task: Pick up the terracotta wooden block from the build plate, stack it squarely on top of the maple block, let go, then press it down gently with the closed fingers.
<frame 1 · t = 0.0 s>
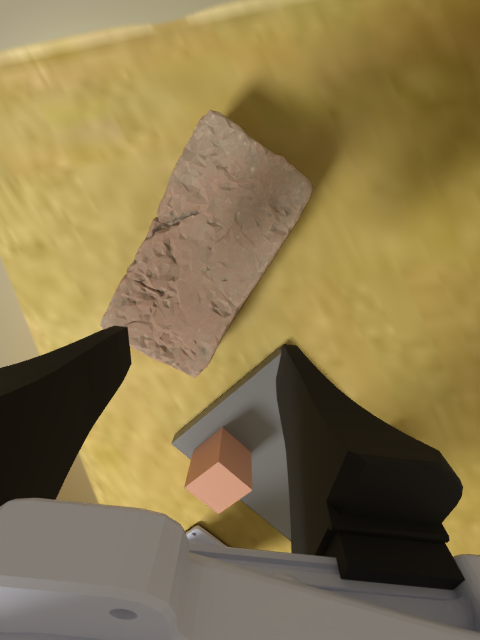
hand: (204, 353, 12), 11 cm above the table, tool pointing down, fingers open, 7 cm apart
terracotta block: (222, 451, 25), point 1 cm above the table, touching build plate
brick: (208, 256, 22), on the table
build plate: (291, 455, 27), on the table
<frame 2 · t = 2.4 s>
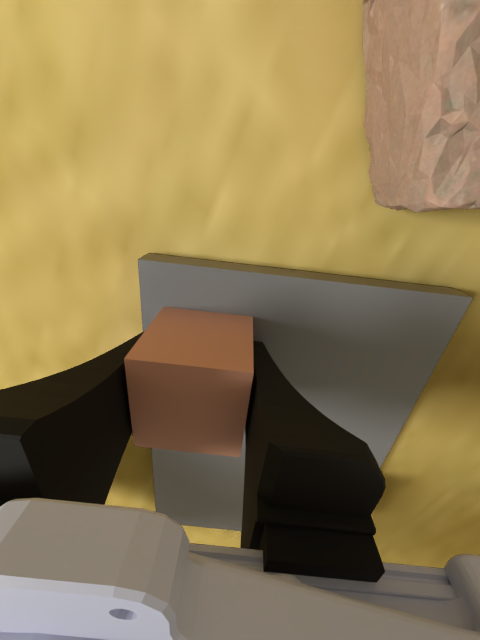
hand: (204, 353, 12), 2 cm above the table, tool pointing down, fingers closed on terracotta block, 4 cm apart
terracotta block: (206, 349, 12), point 1 cm above the table, touching build plate, gripper
build plate: (268, 425, 16), on the table
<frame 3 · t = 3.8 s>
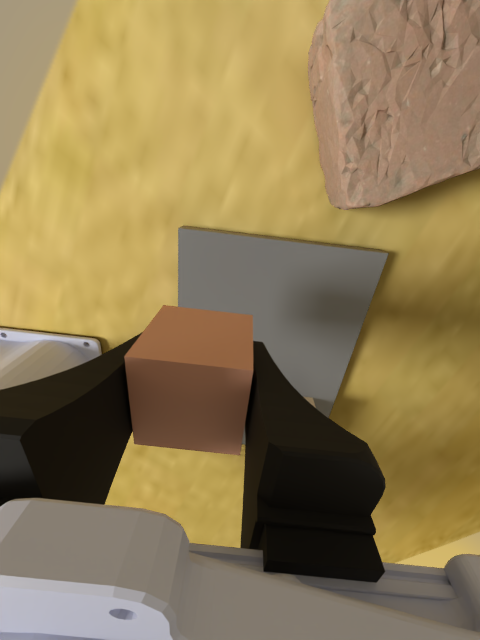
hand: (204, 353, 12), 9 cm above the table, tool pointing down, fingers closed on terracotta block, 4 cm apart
terracotta block: (206, 347, 12), point 8 cm above the table, touching gripper
brick: (458, 86, 15), on the table
build plate: (261, 355, 23), on the table
when the fingers open (7 cm above the table, at t = 5.5 s): terracotta block stays where it is, resting on maple block.
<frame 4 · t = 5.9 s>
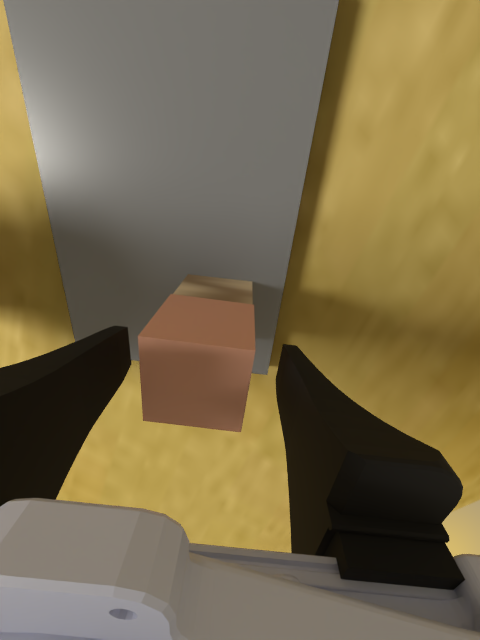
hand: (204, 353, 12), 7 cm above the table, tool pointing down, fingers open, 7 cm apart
terracotta block: (209, 335, 13), point 5 cm above the table, touching maple block
maple block: (217, 307, 17), point 1 cm above the table, touching build plate, terracotta block
build plate: (176, 218, 16), on the table
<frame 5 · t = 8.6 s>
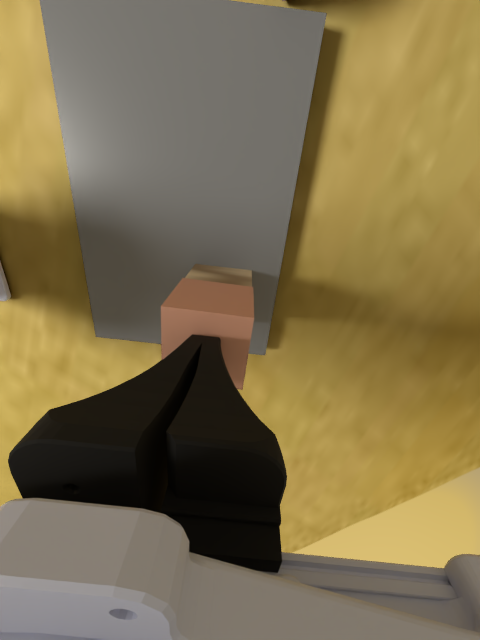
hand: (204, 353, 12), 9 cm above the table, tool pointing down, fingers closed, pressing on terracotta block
terracotta block: (215, 314, 16), point 5 cm above the table, touching gripper, maple block
maple block: (221, 293, 19), point 1 cm above the table, touching build plate, terracotta block
build plate: (185, 215, 18), on the table
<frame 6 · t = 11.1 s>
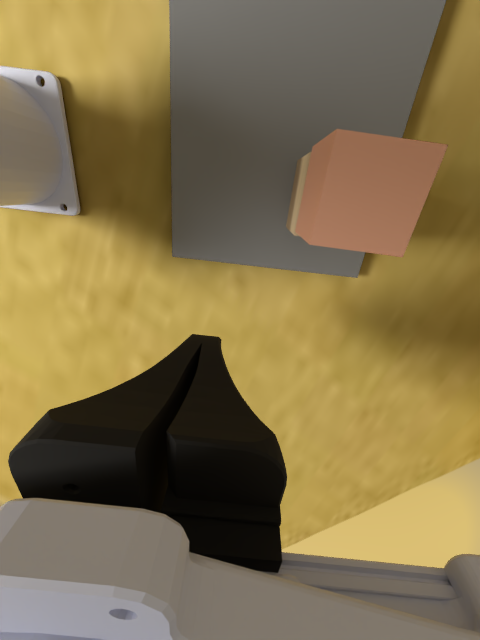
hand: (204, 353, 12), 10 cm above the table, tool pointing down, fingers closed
terracotta block: (340, 196, 14), point 5 cm above the table, touching maple block
maple block: (321, 198, 17), point 1 cm above the table, touching build plate, terracotta block
build plate: (288, 104, 16), on the table
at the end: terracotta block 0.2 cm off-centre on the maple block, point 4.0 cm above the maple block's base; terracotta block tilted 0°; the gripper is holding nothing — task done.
